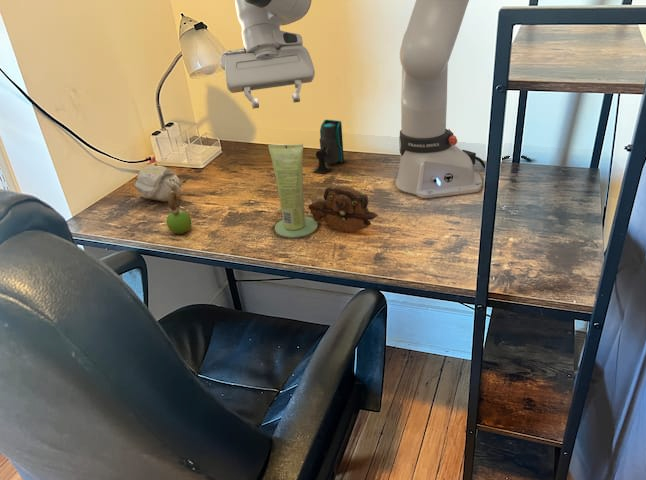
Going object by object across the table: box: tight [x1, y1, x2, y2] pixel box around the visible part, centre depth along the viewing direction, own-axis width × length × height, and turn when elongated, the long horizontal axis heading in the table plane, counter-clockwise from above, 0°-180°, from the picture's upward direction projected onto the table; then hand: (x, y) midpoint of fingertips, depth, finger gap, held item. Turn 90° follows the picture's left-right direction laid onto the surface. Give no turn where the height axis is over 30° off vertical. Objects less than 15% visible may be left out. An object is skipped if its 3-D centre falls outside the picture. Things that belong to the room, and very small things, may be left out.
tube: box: [267, 143, 306, 230], centre depth 119 cm, size 6×5×20 cm
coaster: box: [274, 215, 319, 239], centre depth 124 cm, size 10×10×1 cm
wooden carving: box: [307, 185, 379, 233], centre depth 119 cm, size 16×5×10 cm, turn 70°
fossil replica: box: [134, 163, 182, 203], centre depth 140 cm, size 12×8×10 cm
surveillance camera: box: [313, 119, 345, 175], centre depth 151 cm, size 6×12×10 cm
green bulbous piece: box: [166, 179, 192, 235], centre depth 122 cm, size 5×6×12 cm
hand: (276, 104), depth 122 cm, fingers open, 8 cm apart
